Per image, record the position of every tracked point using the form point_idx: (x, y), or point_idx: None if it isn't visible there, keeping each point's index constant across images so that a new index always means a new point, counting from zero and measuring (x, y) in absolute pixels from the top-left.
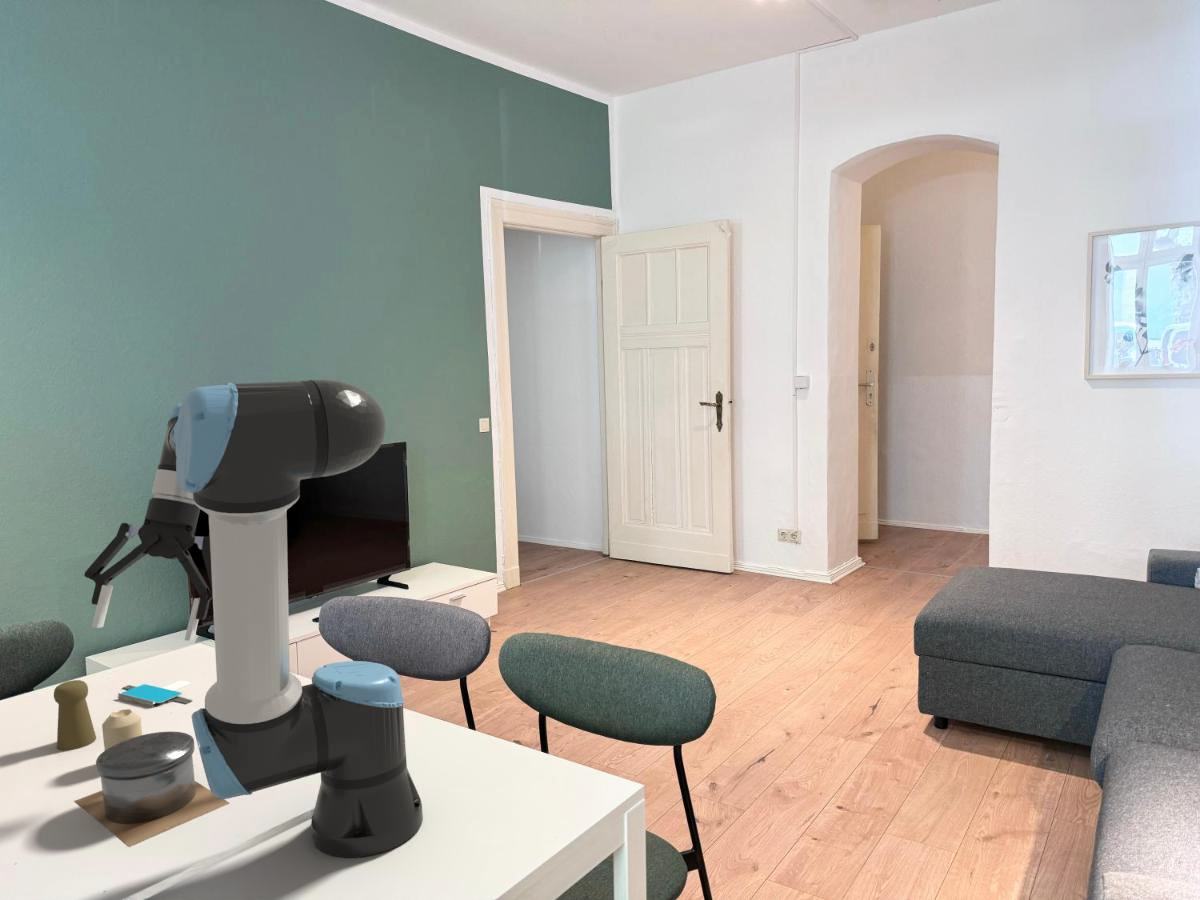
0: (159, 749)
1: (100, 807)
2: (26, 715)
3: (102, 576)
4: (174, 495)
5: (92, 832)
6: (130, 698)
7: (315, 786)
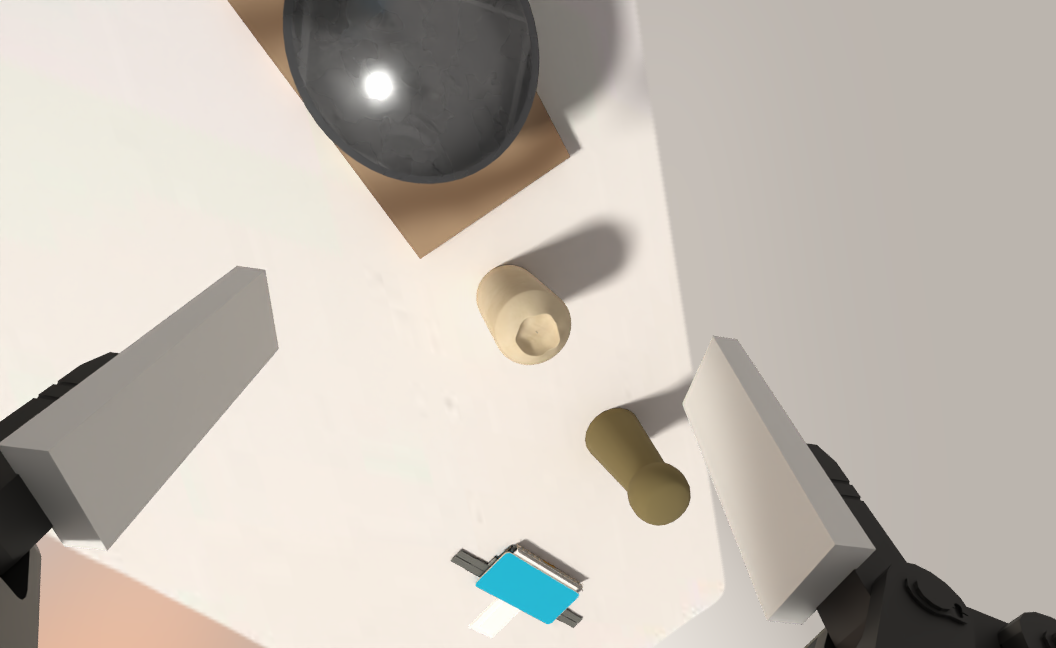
0: (382, 44)
1: None
2: (698, 542)
3: (942, 636)
4: None
5: None
6: (560, 574)
7: (4, 42)
